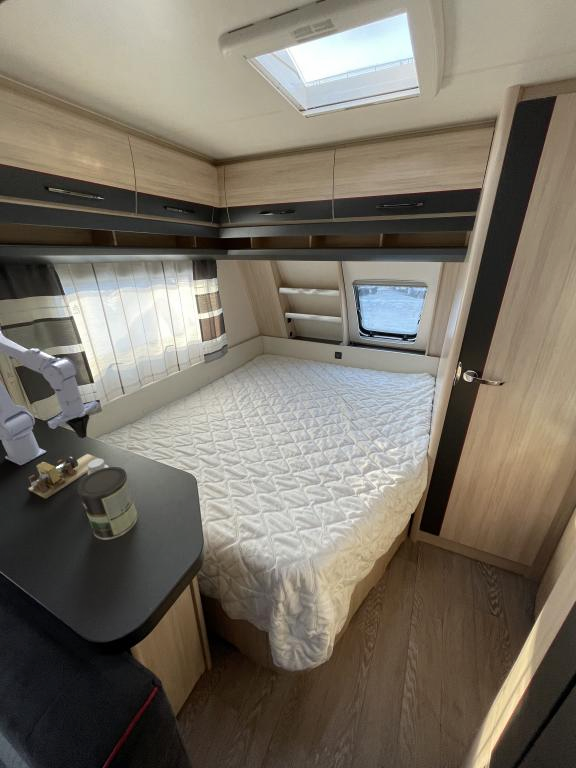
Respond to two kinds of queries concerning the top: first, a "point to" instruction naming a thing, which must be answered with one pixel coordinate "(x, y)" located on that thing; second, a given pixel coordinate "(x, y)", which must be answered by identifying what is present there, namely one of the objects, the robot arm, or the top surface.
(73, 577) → the top surface
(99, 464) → the supplement bottle
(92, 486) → the coffee can
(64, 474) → the bearing bed
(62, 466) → the shaft
